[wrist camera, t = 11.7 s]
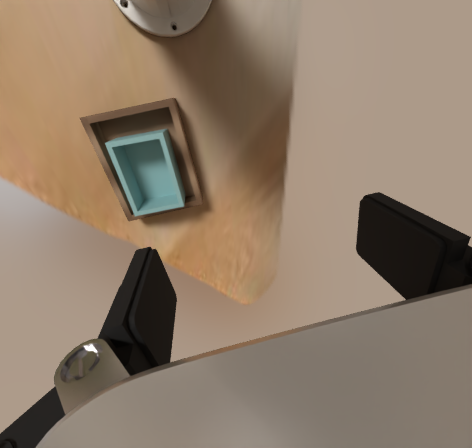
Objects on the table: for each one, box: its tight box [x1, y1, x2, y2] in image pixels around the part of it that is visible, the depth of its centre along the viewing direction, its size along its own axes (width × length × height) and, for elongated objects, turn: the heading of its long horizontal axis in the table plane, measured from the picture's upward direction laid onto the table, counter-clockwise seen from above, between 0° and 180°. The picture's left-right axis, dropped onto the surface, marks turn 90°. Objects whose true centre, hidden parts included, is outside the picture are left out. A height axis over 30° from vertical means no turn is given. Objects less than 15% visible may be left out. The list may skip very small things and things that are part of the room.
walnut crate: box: [80, 98, 203, 221], centre depth 33 cm, size 15×12×4 cm
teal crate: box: [105, 129, 186, 216], centre depth 32 cm, size 10×7×5 cm
